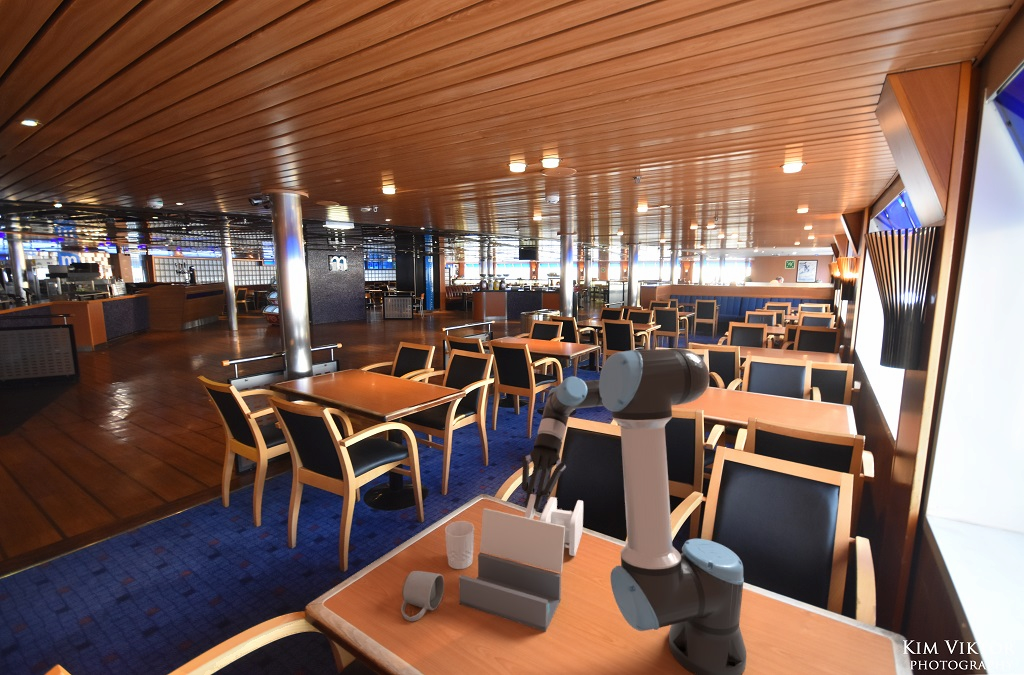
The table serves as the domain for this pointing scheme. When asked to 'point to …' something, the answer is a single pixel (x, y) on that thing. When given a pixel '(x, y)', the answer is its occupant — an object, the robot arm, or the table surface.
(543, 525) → the panel
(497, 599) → the cable duct
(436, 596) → the ceramic mug
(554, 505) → the cable organizer
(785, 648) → the table surface
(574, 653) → the table surface
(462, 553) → the white cup
